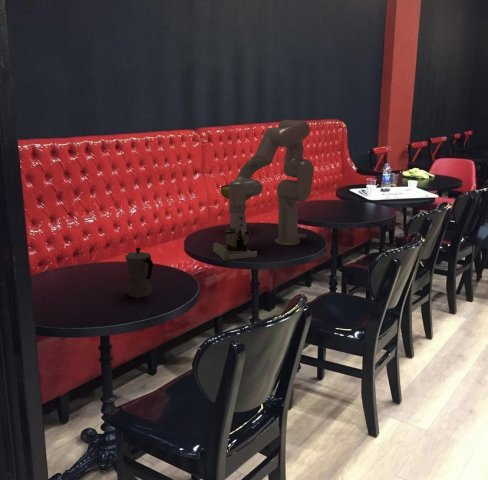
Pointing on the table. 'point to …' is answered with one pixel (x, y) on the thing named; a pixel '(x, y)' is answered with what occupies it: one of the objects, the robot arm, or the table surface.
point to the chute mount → (231, 253)
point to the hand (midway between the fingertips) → (237, 245)
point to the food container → (232, 241)
